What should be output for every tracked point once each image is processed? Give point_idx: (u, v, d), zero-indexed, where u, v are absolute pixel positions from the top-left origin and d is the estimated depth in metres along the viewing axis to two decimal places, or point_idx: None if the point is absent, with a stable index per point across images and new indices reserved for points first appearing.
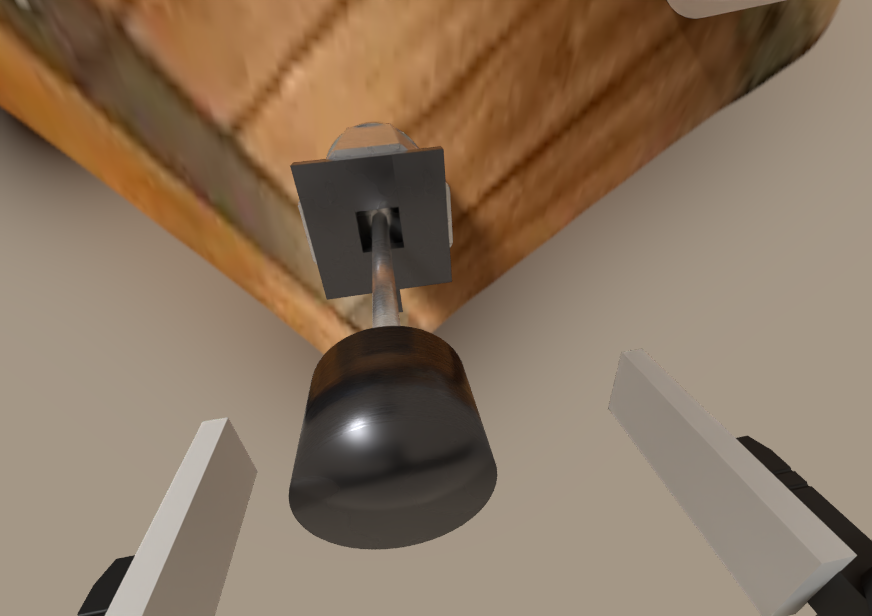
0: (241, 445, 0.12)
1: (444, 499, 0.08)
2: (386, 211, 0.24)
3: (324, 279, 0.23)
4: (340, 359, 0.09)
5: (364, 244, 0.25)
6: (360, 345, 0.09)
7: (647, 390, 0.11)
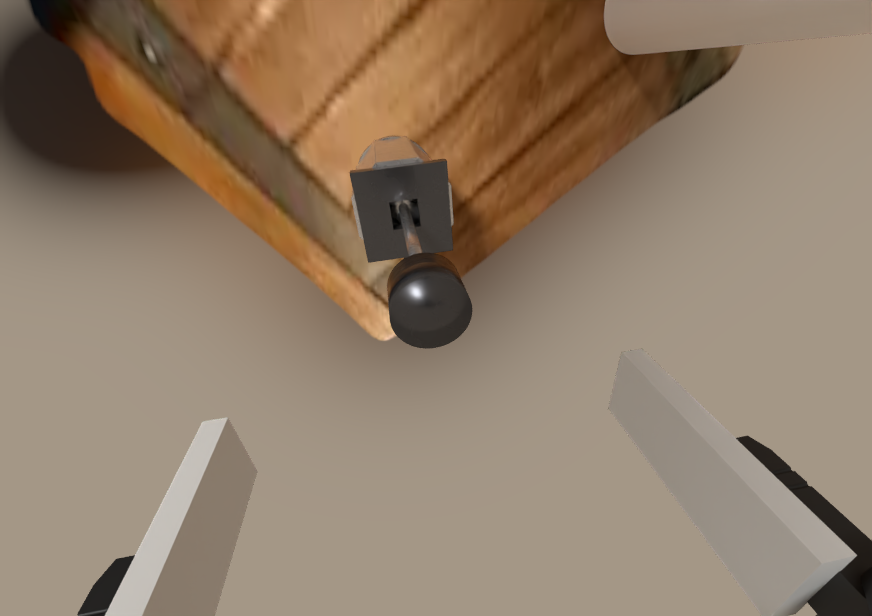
0: (241, 445, 0.12)
1: (450, 320, 0.20)
2: (408, 202, 0.35)
3: (367, 248, 0.35)
4: (404, 265, 0.20)
5: None
6: (413, 259, 0.20)
7: (647, 390, 0.11)
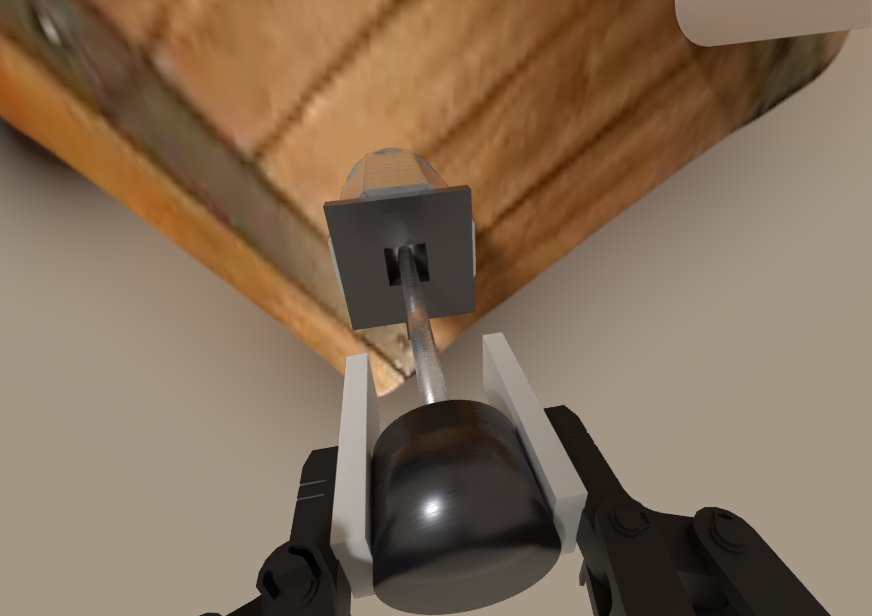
0: (372, 380, 0.14)
1: (510, 572, 0.09)
2: None
3: (351, 311, 0.24)
4: (408, 437, 0.09)
5: (389, 275, 0.25)
6: (427, 422, 0.09)
7: (493, 368, 0.13)
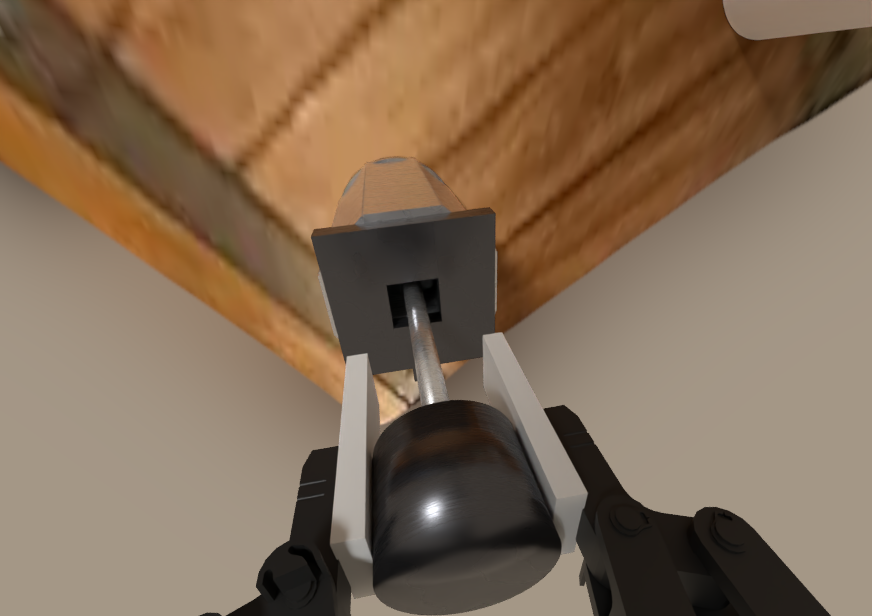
0: (372, 380, 0.14)
1: (510, 573, 0.09)
2: None
3: None
4: (408, 437, 0.09)
5: None
6: (427, 422, 0.09)
7: (493, 368, 0.13)
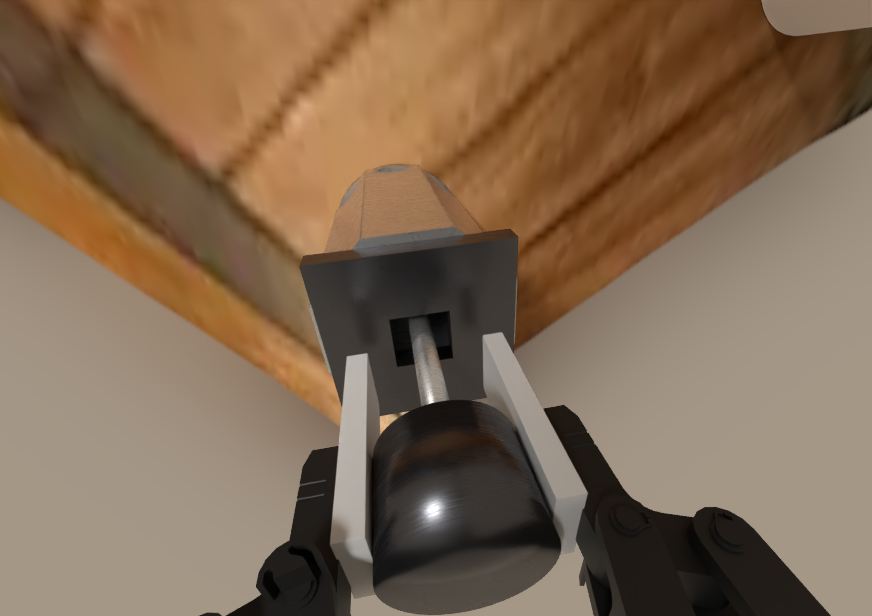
0: (372, 380, 0.14)
1: (510, 572, 0.09)
2: None
3: None
4: (408, 437, 0.09)
5: None
6: (427, 422, 0.09)
7: (493, 368, 0.13)
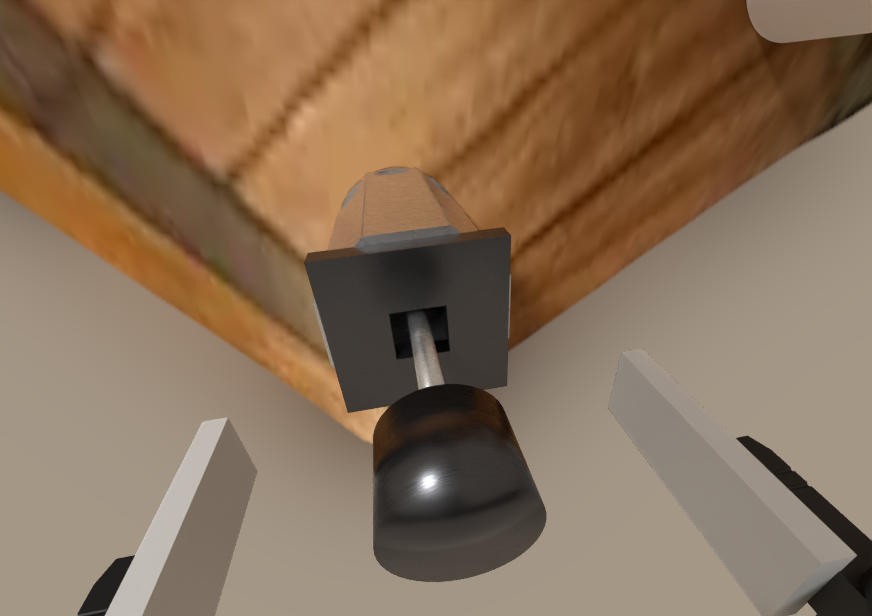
0: (242, 445, 0.12)
1: (500, 540, 0.10)
2: None
3: (345, 391, 0.18)
4: (406, 417, 0.10)
5: None
6: (423, 404, 0.10)
7: (647, 391, 0.11)
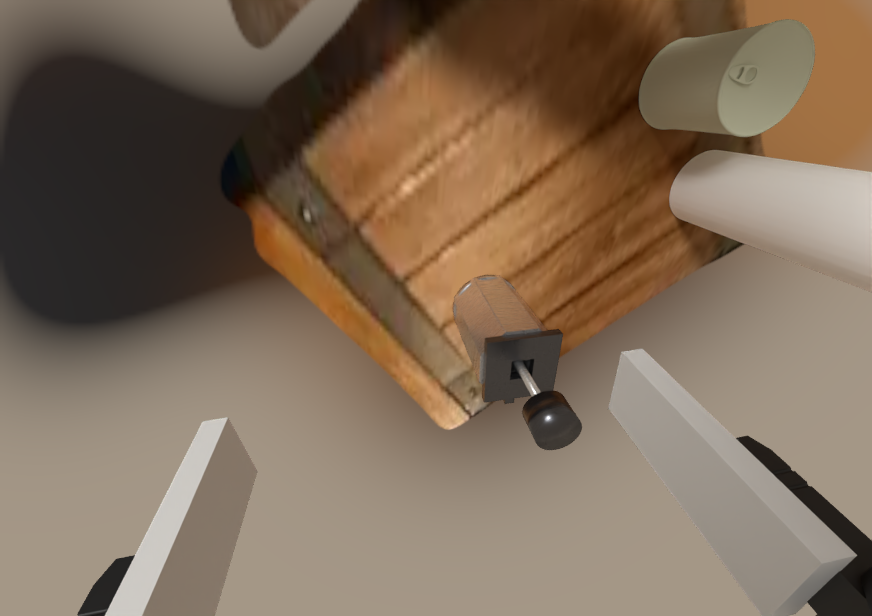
0: (241, 445, 0.12)
1: (567, 435, 0.34)
2: None
3: (486, 392, 0.42)
4: (540, 399, 0.34)
5: None
6: (544, 396, 0.34)
7: (647, 391, 0.11)
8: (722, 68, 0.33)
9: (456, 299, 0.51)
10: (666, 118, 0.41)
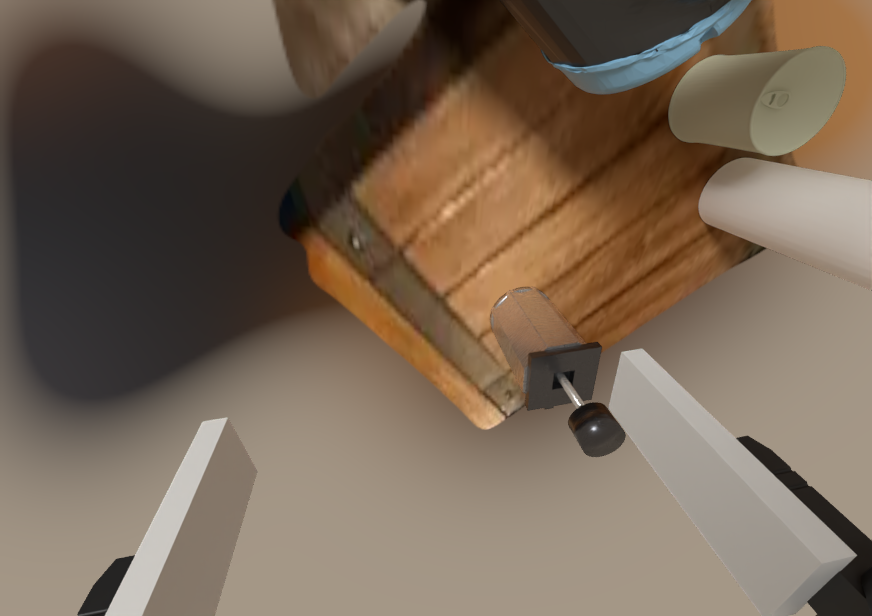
0: (241, 445, 0.12)
1: (612, 444, 0.37)
2: None
3: (529, 402, 0.45)
4: (585, 412, 0.37)
5: None
6: (589, 408, 0.37)
7: (647, 390, 0.11)
8: (754, 95, 0.34)
9: (493, 311, 0.54)
10: (696, 135, 0.43)
